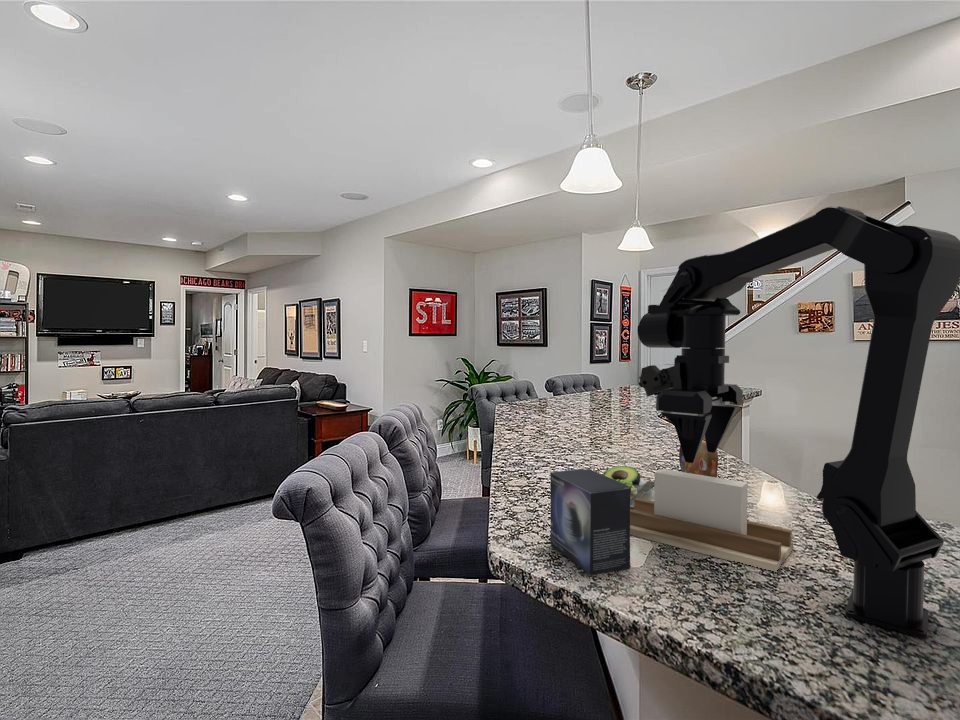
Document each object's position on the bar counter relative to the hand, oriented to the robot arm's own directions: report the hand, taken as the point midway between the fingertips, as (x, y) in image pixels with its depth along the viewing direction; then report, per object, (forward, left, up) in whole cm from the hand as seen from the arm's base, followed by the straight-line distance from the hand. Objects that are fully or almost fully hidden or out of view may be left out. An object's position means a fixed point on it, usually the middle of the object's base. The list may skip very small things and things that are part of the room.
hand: (701, 457), depth 75 cm
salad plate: (+12, +20, -12) cm, 27 cm away
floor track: (0, 0, -12) cm, 12 cm away
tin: (+35, +12, -12) cm, 39 cm away
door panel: (0, 0, -11) cm, 11 cm away
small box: (-16, +9, -12) cm, 22 cm away
